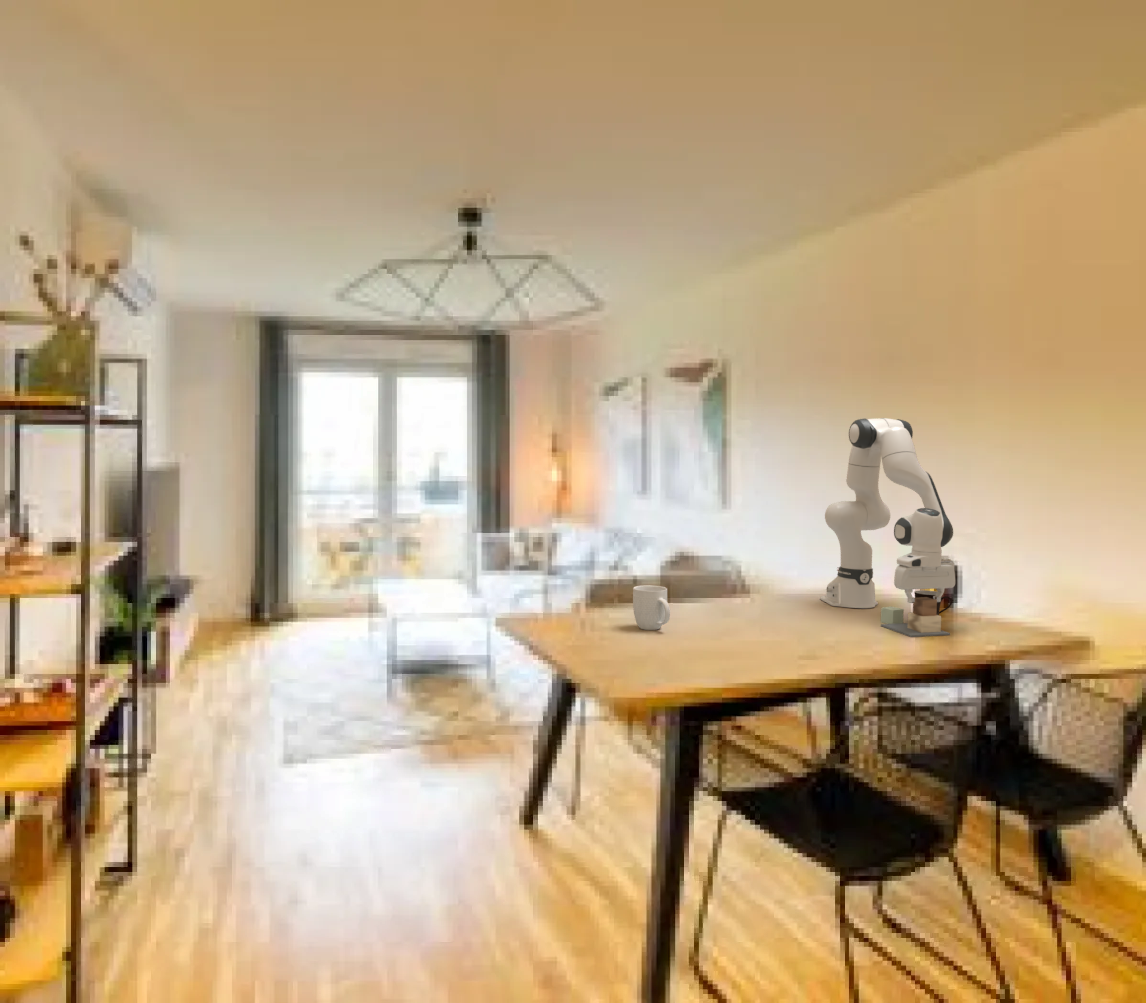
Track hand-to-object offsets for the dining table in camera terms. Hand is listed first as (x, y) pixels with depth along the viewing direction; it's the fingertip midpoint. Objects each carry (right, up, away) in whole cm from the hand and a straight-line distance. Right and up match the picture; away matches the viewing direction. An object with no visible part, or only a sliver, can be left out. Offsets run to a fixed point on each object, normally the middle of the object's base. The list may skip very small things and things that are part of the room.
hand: (924, 602), depth 264 cm
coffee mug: (+9, -9, +15) cm, 19 cm away
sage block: (-5, -9, +13) cm, 17 cm away
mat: (-2, -9, +2) cm, 10 cm away
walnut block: (0, -4, 0) cm, 4 cm away
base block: (0, -9, 0) cm, 9 cm away
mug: (-87, -9, +1) cm, 88 cm away
